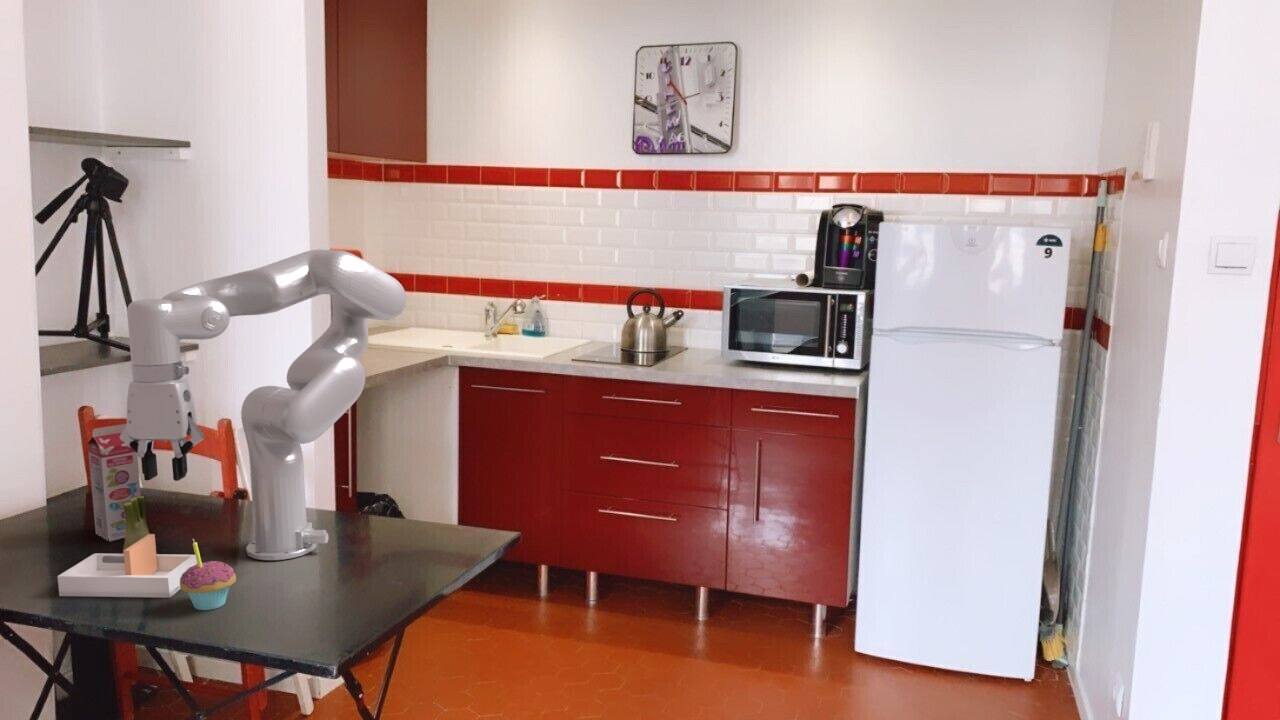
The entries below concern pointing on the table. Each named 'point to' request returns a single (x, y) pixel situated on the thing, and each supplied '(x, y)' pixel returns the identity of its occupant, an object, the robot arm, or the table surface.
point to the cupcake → (207, 582)
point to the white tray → (124, 578)
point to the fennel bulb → (135, 521)
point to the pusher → (138, 557)
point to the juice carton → (112, 480)
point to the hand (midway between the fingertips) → (165, 477)
